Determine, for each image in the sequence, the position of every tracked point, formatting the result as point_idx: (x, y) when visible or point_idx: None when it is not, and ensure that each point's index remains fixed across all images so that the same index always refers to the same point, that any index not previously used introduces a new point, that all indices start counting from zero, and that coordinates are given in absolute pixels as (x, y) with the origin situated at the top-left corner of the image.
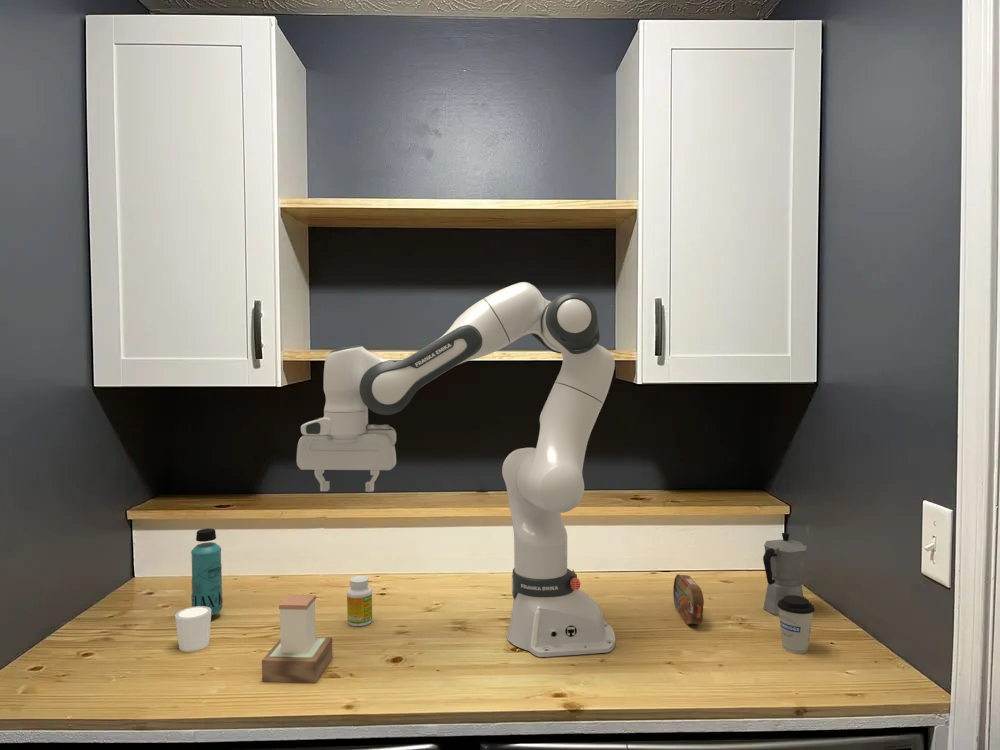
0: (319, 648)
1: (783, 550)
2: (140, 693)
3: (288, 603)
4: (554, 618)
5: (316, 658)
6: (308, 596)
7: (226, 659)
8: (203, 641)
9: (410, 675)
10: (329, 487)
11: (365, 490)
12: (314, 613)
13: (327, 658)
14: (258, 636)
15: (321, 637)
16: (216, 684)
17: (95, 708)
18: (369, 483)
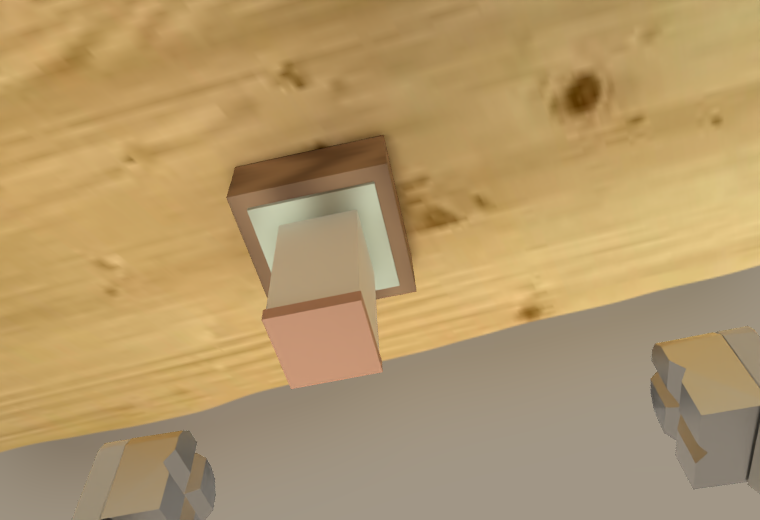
0: (387, 232)
1: None
2: (63, 378)
3: (313, 373)
4: None
5: (410, 279)
6: (343, 316)
7: (96, 220)
8: None
9: (641, 167)
10: (180, 446)
11: (657, 413)
12: (360, 269)
13: (394, 187)
14: (48, 68)
15: (352, 171)
16: (185, 316)
17: (40, 428)
18: (751, 480)
